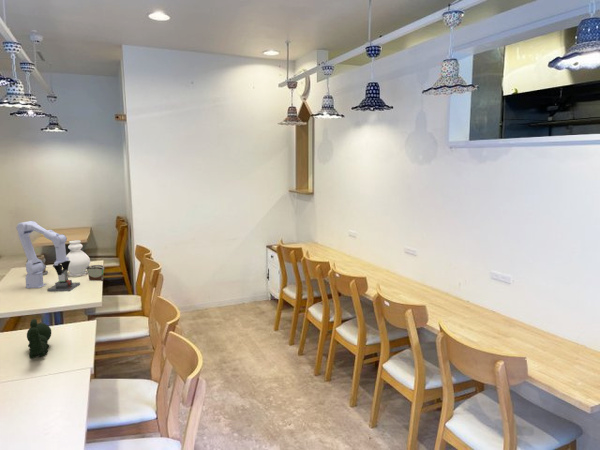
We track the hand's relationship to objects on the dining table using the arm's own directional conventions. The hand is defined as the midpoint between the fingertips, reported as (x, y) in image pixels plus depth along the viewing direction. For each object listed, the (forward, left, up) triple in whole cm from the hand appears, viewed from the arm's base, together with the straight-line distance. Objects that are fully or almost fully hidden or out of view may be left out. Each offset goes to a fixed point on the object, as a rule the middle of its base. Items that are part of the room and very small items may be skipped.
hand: (62, 273), depth 272 cm
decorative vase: (-7, +34, -10) cm, 36 cm away
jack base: (0, 0, -10) cm, 10 cm away
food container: (+14, +19, -10) cm, 26 cm away
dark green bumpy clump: (+36, -94, -10) cm, 102 cm away
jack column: (0, 0, -5) cm, 5 cm away
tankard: (-35, +31, -10) cm, 48 cm away
